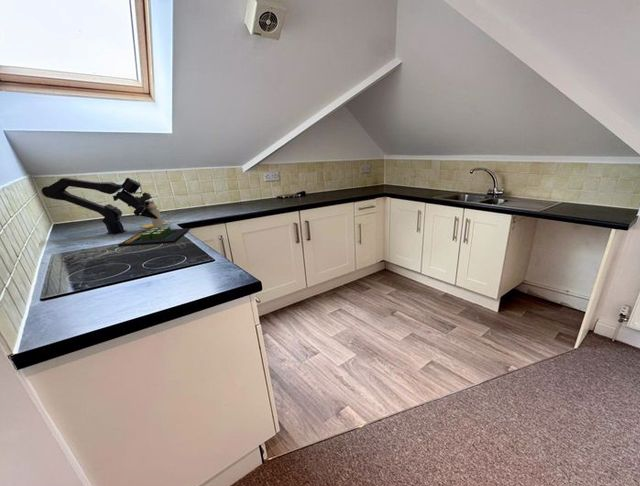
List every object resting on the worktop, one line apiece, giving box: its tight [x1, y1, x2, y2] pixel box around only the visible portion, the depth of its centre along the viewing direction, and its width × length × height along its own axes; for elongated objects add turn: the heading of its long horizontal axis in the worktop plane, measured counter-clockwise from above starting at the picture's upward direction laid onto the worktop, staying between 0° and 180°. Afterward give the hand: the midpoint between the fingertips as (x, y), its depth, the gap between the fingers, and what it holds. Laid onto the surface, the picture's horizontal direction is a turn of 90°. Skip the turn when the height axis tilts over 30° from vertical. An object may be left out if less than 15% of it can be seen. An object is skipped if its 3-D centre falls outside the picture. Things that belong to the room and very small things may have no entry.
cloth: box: [140, 222, 169, 229], centre depth 185 cm, size 12×8×1 cm, turn 154°
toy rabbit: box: [147, 199, 165, 228], centre depth 175 cm, size 5×5×17 cm
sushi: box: [118, 226, 191, 247], centre depth 160 cm, size 25×25×4 cm
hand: (158, 217), depth 176 cm, fingers open, 7 cm apart
